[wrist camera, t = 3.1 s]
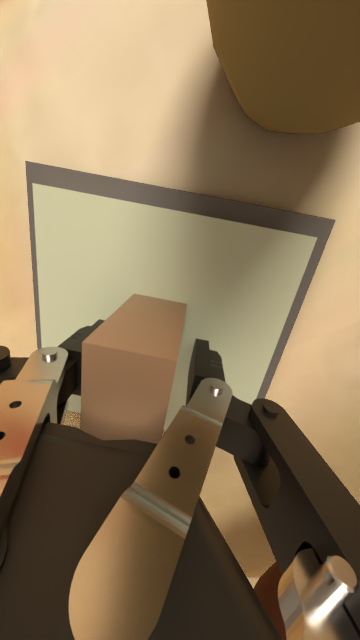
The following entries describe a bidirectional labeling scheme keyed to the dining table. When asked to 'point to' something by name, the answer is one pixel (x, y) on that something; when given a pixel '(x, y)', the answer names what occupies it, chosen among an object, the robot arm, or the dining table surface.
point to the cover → (158, 302)
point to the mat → (190, 205)
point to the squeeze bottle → (291, 60)
